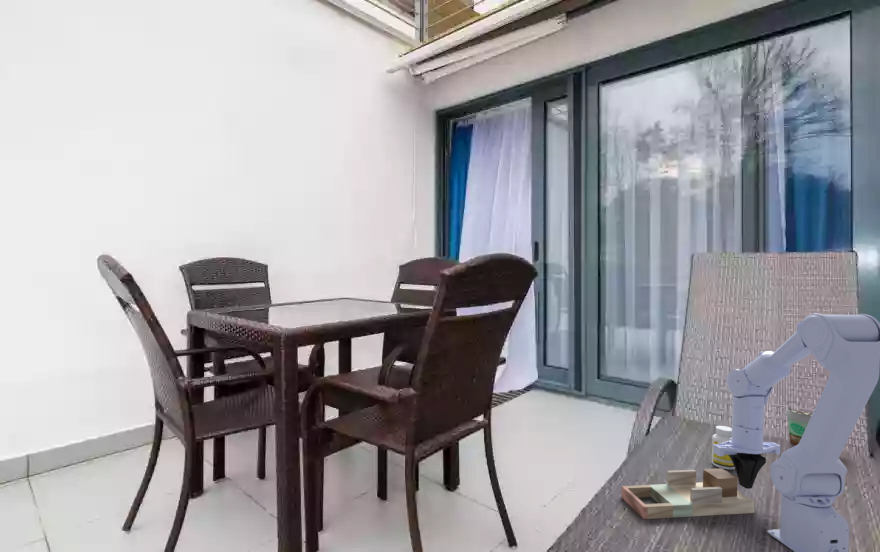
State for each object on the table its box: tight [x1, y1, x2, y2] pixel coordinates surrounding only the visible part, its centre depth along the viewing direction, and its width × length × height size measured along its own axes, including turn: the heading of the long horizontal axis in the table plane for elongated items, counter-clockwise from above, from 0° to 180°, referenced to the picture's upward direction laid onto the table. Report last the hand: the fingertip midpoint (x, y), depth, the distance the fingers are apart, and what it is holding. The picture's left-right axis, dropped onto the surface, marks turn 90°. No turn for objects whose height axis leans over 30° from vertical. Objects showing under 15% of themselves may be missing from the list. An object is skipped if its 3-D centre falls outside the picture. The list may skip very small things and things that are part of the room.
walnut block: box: [702, 468, 739, 497], centre depth 97 cm, size 4×4×4 cm
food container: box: [784, 405, 813, 447], centre depth 129 cm, size 12×6×10 cm, turn 25°
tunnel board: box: [620, 469, 756, 520], centre depth 96 cm, size 9×25×6 cm, turn 97°
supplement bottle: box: [710, 425, 736, 470], centre depth 116 cm, size 5×5×10 cm
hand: (745, 486), depth 98 cm, fingers closed
